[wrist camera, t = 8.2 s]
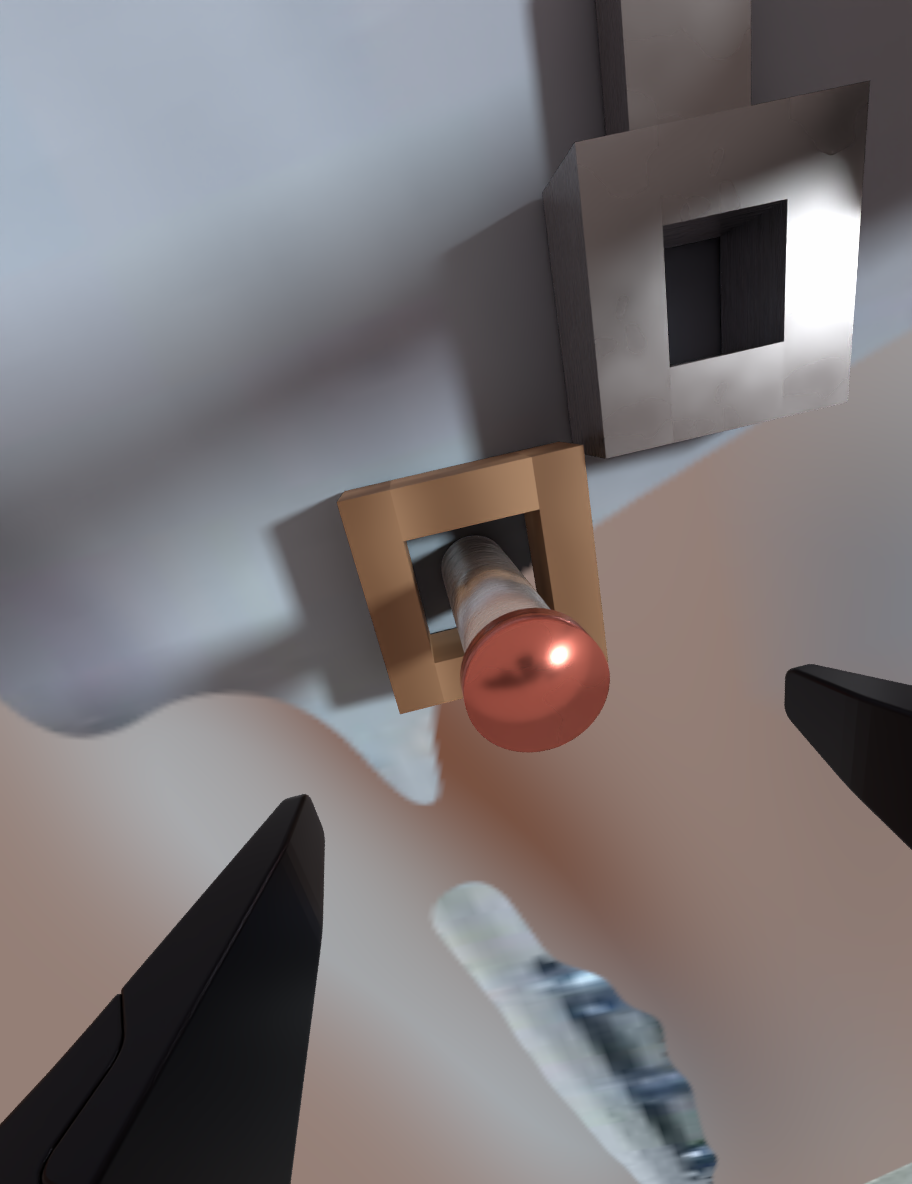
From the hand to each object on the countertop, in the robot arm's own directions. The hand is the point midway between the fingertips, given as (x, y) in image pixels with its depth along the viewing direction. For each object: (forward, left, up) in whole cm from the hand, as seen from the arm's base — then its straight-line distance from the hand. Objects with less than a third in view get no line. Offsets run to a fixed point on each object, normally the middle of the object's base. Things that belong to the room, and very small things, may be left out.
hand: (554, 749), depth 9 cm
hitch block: (-9, -10, -11) cm, 17 cm away
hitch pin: (0, 0, -11) cm, 11 cm away
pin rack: (0, 0, -11) cm, 11 cm away
